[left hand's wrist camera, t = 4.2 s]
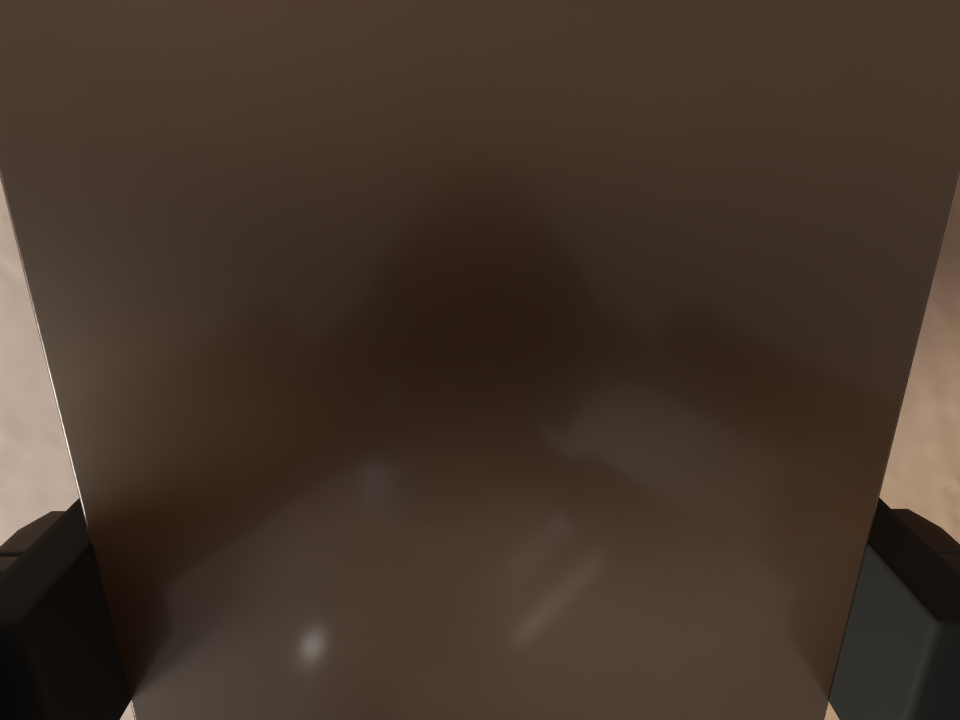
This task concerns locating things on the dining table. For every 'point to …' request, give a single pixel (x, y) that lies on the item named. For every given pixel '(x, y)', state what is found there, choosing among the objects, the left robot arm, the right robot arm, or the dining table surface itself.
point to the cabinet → (479, 338)
